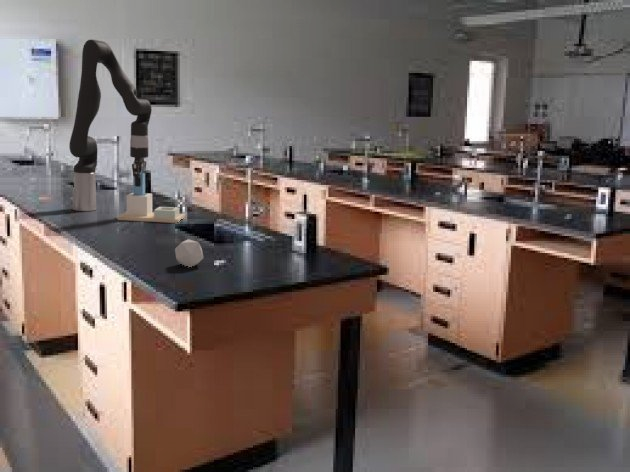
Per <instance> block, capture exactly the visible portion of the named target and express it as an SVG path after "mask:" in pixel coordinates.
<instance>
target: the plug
mask: <svg viewBox="0 0 630 472" xmlns="http://www.w3.org/2000/svg"><path fill="white" fill-rule="evenodd" d="M136 174H137V173H136ZM132 180H133V181H132V183H133V185H132V186H133V187H132V189H133V191H132V193H133V195H138V196H145V193H146V172H145V173H141V186H140V187H137V186H135V177H133V179H132Z"/></svg>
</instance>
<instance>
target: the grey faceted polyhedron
mask: <svg viewBox="0 0 630 472" xmlns="http://www.w3.org/2000/svg"><path fill="white" fill-rule="evenodd" d="M174 252H175V259H176V260H177V262H178V264H179V265H180V264H182V265H181V266H183V265H184V266H183V267H186V266H188V267H187V268H189V267H191V268H193V267H195V266H196V265H198V263H200V262H201V261H202V260H203V259H204V253H203V249H202V246H201V245H200V243H199V242H198V241H195V240H192V239H189V238H188V239H186V240H184V241H181V242H180V243H179V244H178V246H176V247H175V248H174ZM192 266H193V267H192Z"/></svg>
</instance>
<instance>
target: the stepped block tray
mask: <svg viewBox="0 0 630 472" xmlns="http://www.w3.org/2000/svg"><path fill="white" fill-rule="evenodd" d="M184 217H185V218H186V213H180V207H173V206H170V207H169V206H158V207H157V208H155V209H154V210H153V193H146V192H145V196H138V195H133V192H131V193H129V194H126V211H124V212H123V213H121V214H119V215H117V221H129V222H130V221H131V222H149V223H150V222H153V223H170V224H171V223H172V224H173V223H174V224H178V223H177V222H179V221H180V220H181V219H183V218H184ZM185 218H184V219H185ZM184 219H183V220H184ZM181 221H182V220H181ZM181 221H180V222H181ZM180 222H179V223H180Z"/></svg>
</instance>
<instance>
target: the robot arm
mask: <svg viewBox="0 0 630 472" xmlns="http://www.w3.org/2000/svg"><path fill="white" fill-rule="evenodd" d="M98 64H102V65H103V66H104V67H105V68H106V69H107V71H108V72H109V74H110V78H111V83H112V85H113V87H114V88H115V90H116V91H117V93H118V95H119V96H120V97H121V99H122V102H123V105H124V107H125V109H126V110H127V112H128V113H129V114H130V115H132V116H136V119H135V121H132V122H131V124H130V140H129V147H130V148H129V151H130V157H131V158H134V161H133V163H132V164H131V168H132V170H131V171H132V176H133V177H135V186H137V187H140V186H141V173H145V174H146V170H147V161H146V160H145V159H146V158H148V157H149V134H148V133H149V127H148V126H149V123H150V120H151V116H152V112H153V111H152V105H151V102H150V101H149V100H148V99H145V98H138V97H136V96H137V94H138V91H137V88H136V87H135V86H134V84H133V83H132V82H131V80H130V79H129V77H128V76H127V74H126V73H125V71H124V69H123V68H122V66H121V64H120V62H119V60H118V59H117V56H116V54H115V53H114V50H113V49H112V47H111V46H110V44H109V43H107V42H105V41H102V40H97V39H88V40H86V41H85V43H84V44H83V48H82V57H81V73H80V84H79V91H78V96H77V104H76V105H77V106H76V111H75V118H74V123H73V128H72V132H71V136H70V140H69V145H68V146H69V147H68V149H69V151H70V153H71V155H72V156H73V157H75V158H78V161H77V163H76V164H75V165H74V166H73V187H74V188H73V189H72V210H73V211H77V212H92V211H96V210H97V192H96V191H97V185H96V179H97V178H96V168H97V166H98V145H97V144H98V143H97V142H96V140H95V138H94V137H92V136H89V132H90V131H89V130H90V127H91V125H92V123H93V121H94V120H95V118H96V116H97V115H98V112H99V109H100V106H101V99H102V94H101V93H102V92H101V89H100V85H99V81H98V78H97V70H98V69H97V68H98ZM136 173H137V174H136Z"/></svg>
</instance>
